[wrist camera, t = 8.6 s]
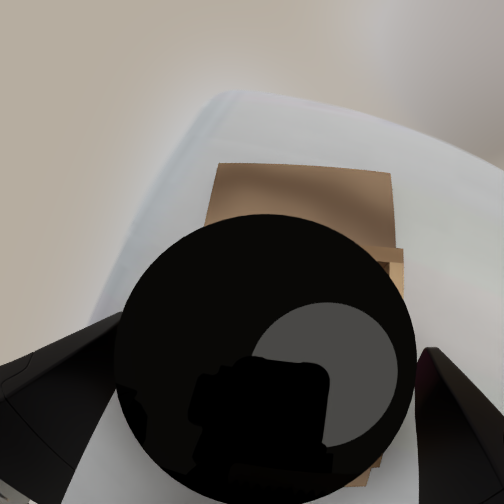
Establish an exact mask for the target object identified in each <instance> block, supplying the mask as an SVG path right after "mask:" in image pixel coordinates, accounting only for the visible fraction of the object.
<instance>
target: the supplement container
mask: <svg viewBox="0 0 504 504" xmlns="http://www.w3.org/2000/svg"><path fill="white" fill-rule="evenodd" d="M416 370H417V350H416V342H415V334H414V330H413V326H412V322H411V318H410V316H409V313H408V310H407V307H406V305H405V302H404V300H403V298H402V296H401V294H400V292H399V290H398V289H397V287H396V286H395V284H394V282H393V281H392V279H391V278H390V276H389V275H388V274H387V273H386V271H385V270H384V269H383V268H382V266H381V265H380V264H379V263H378V262H377V261H376V260H375V259H374V258H373V257H372V256H371V255H370V254H369V253H368V252H367V251H366V250H364V249H363V248H362V247H361V246H359V245H358V244H357V243H355V242H354V241H352V240H351V239H349V238H348V237H346V236H345V235H343V234H341V233H339V232H337V231H335V230H333V229H331V228H329V227H327V226H324V225H322V224H319V223H316V222H314V221H310V220H306V219H303V218H299V217H293V216H287V215H277V214H252V215H245V216H237V217H233V218H229V219H224V220H221V221H218V222H215V223H212V224H209V225H207V226H205V227H202V228H200V229H198V230H196V231H194V232H192V233H190V234H189V235H187V236H185V237H183V238H182V239H180V240H179V241H177V242H176V243H175V244H173V245H172V246H170V247H169V248H168V249H167V250H166V251H165V252H163V253H162V254H161V255H160V256H159V257H158V258H157V259H156V260H155V261H154V262H153V263H152V264H151V265H150V266H149V268H148V269H147V270H146V271H145V273H144V274H143V275H142V276H141V278H140V279H139V281H138V282H137V284H136V285H135V287H134V289H133V290H132V292H131V294H130V296H129V298H128V300H127V302H126V305H125V307H124V310H123V312H122V315H121V318H120V321H119V325H118V328H117V334H116V339H115V347H114V376H115V385H116V390H117V394H118V399H119V402H120V405H121V408H122V411H123V414H124V416H125V418H126V421H127V423H128V425H129V427H130V429H131V431H132V432H133V434H134V436H135V438H136V439H137V441H138V442H139V444H140V445H141V446H142V448H143V449H144V450H145V452H146V453H147V454H148V455H149V456H150V458H151V459H152V460H153V461H154V462H155V463H156V464H157V465H158V466H159V467H160V468H161V469H162V470H163V471H165V472H166V473H167V474H168V475H170V476H171V477H172V478H174V479H175V480H176V481H178V482H179V483H181V484H182V485H184V486H186V487H187V488H189V489H191V490H193V491H195V492H197V493H199V494H201V495H203V496H206V497H208V498H211V499H214V500H216V501H220V502H223V503H227V504H302V503H306V502H310V501H313V500H316V499H319V498H321V497H324V496H326V495H329V494H331V493H333V492H335V491H337V490H339V489H341V488H342V487H344V486H346V485H347V484H349V483H350V482H352V481H353V480H355V479H356V478H357V477H359V476H360V475H361V474H362V473H364V472H365V471H366V470H367V469H369V468H370V467H371V466H372V465H373V464H374V463H375V462H376V461H377V459H378V458H379V457H380V456H381V455H382V454H383V453H384V451H385V450H386V449H387V448H388V446H389V445H390V444H391V442H392V441H393V439H394V437H395V436H396V434H397V433H398V431H399V429H400V427H401V425H402V423H403V421H404V419H405V417H406V414H407V411H408V409H409V406H410V403H411V400H412V395H413V391H414V386H415V380H416Z"/></svg>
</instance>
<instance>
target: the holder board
mask: <svg viewBox="0 0 504 504" xmlns="http://www.w3.org/2000/svg"><path fill="white" fill-rule="evenodd" d="M252 214H277V215H287V216H293V217H299V218H303V219H306V220H310V221H314V222H316V223H319V224H322V225H324V226H327V227H329V228H331V229H333V230H335V231H337V232H339V233H341V234H343V235H345V236H346V237H348V238H349V239H351V240H352V241H354V242H355V243H357V244H358V245H359V246H361V247H362V248H363V249H364V250H366V251H367V252H368V253H369V254H370V255H371V256H372V257H373V258H374V259H375V260H376V261H377V262H378V263H379V264H380V265H381V266H382V268H383V269H384V270H385V271H386V273H387V274H388V275H389V276H390V278H391V279H392V281H393V282H394V284H395V286H396V287H397V289H398V290H399V292H400V294H401V296H402V298H403V292H404V261H403V249H399V248H396V241H395V220H394V206H393V194H392V184H391V175H390V173H384V172H376V171H367V170H357V169H347V168H335V167H322V166H306V165H287V164H257V163H219V164H218V168H217V172H216V176H215V180H214V185H213V189H212V193H211V198H210V202H209V206H208V211H207V215H206V220H205V224H204V227H205V226H207V225H209V224H212V223H215V222H218V221H221V220H224V219H229V218H233V217H237V216H245V215H252ZM382 455H383V454H382ZM382 455H381V456H380V457H379V458H378V459H377V461H376V462H375V463H374V464H373V465H372V466H371V467H370V468H369V469H367V470H366V471H365V472H364V473H362V474H361V475H360V476H359V477H357V478H356V479H355V480H353V481H352V482H350V483H349V484H347V485H346V486H344V487H359V486H366V485H367V481H368V478H369V474H370V471H371V468H376V467H380V463H381V459H382Z"/></svg>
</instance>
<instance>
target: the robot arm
mask: <svg viewBox="0 0 504 504" xmlns="http://www.w3.org/2000/svg"><path fill="white" fill-rule="evenodd" d="M121 315H122V312H118V313H116V314H114V315H112V316H110V317H107V318H105V319H103V320H101V321H99V322H97V323H94V324H92V325H90V326H88V327H86V328H84V329H82V330H79V331H77V332H75V333H73V334H71V335H69V336H66V337H64V338H62V339H60V340H58V341H56V342H54V343H51V344H49V345H47V346H45V347H43V348H41V349H39V350H37V351H35V352H32V353H30V354H28V355H26V356H24V357H21V358H19V359H16V360H14V361H12V362H9V363H7V364H4V365H1V366H0V504H29V503H28V502H29V501H30V499H31V500H32V501H34V502H36V503H37V504H61V502H62V500H63V498H64V495H65V493H66V491H67V488H68V486H69V484H70V482H71V479H72V477H73V475H74V473H75V470H76V468H77V466H78V464H79V462H80V459H81V457H82V455H83V453H84V451H85V449H86V447H87V445H88V443H89V440H90V438H91V436H92V434H93V432H94V430H95V428H96V426H97V424H98V422H99V420H100V418H101V416H102V414H103V412H104V410H105V408H106V407H107V405H108V403H109V401H110V399H111V397H112V395H113V393H114V391H115V389H116V385H115V376H114V347H115V339H116V334H117V328H118V325H119V321H120V318H121ZM415 422H416V433H417V446H418V465H419V504H504V416H503V415H502V414H501V413H500V411H499V410H498V409H497V408H496V407H495V406H494V405H493V404H492V403H491V402H490V401H489V399H488V398H487V397H486V396H485V395H484V394H483V393H482V392H481V391H480V390H479V389H478V388H477V387H476V386H475V385H474V384H473V382H472V381H471V380H470V379H469V378H468V377H467V376H466V375H465V374H464V373H463V372H462V371H461V370H460V369H459V368H458V367H457V366H456V365H455V364H454V363H453V362H452V361H451V360H450V359H449V358H448V357H447V356H446V355H445V354H444V353H443V352H442V351H441V350H440V349H439V348H437V347H426V348H425V349H424V350H423V352H422V354H421V356H420V358H419V360H418V362H417V370H416V380H415Z"/></svg>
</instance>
